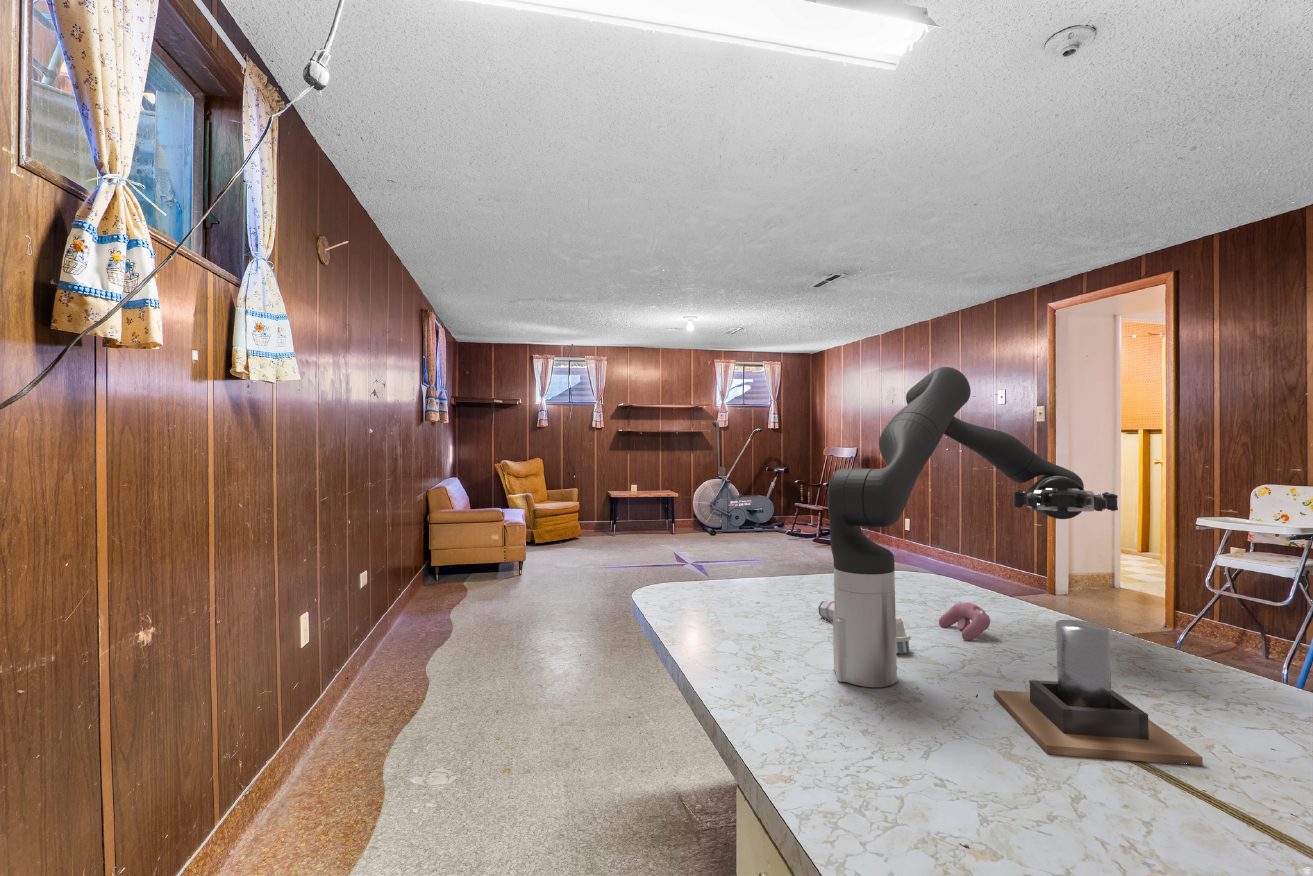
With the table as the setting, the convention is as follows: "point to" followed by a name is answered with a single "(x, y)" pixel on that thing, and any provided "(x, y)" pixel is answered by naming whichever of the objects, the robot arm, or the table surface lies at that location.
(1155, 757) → the wooden board with frame
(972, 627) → the video game controller
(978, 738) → the table surface
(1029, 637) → the table surface
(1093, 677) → the grey metal cylinder
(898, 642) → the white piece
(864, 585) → the robot arm
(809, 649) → the table surface
